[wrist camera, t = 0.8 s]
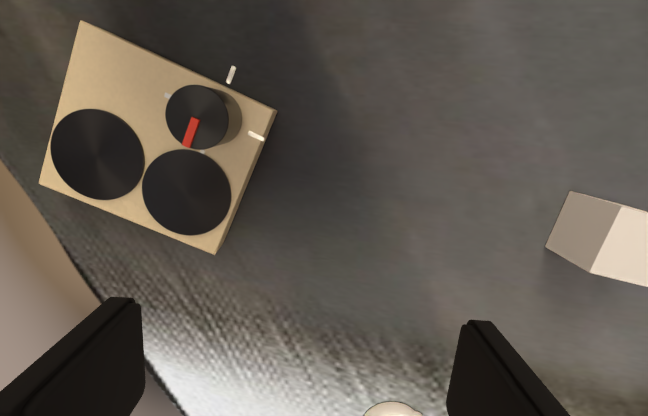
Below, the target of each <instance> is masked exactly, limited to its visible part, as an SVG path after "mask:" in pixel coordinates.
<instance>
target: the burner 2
mask: <svg viewBox="0 0 648 416" xmlns="http://www.w3.org/2000/svg"><path fill="white" fill-rule="evenodd" d="M142 195H143V200H144V203H145V206H146V208H147V210H148V211H149V213H150V215H151V216H152V217H153V218H154V219H155V220H156V221H157V222H158V223H159V224H160V225H161V226H163V227H164V228H166V229H167V230H169V231H171V232H174V233H177V234H181V235H188V236H193V235H201V234H204V233H207V232H209V231H211V230H213V229H214V228H216V227H217V226H218V225H219V224H220V223H221V222H222V221H223V220H224V219H225V217H226V216H227V214H228V212H229V209H230V206H231V199H232V193H231V187H230V183H229V180H228V178H227V176H226V174H225V172H224V171H223V169H222V168H221V167H220V166H219V165H218V163H216V162H215V161H214V160H213V159H212V158H210V157H209V156H207V155H205V154H202V153H200V152H198V151H194V150H189V149H177V150H172V151H169V152H166V153H164V154H162V155H160V156H158V157H157V158H156V159H155V160H153V161H152V163H151V164H150V165H149V166H148V168H147V170H146V172H145V174H144V177H143V181H142Z"/></svg>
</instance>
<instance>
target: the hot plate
mask: <svg viewBox="0 0 648 416" xmlns="http://www.w3.org/2000/svg"><path fill="white" fill-rule="evenodd" d="M235 70H236V67H234V66H231V69H230V72H229V75H228V77H227V80H226V83H228V84H231V81H232V78H233V76H234V73H235ZM187 85H202V86H206V87H210V88H214V89H217V90H221V91H224V92H226V93H228V94H229V95H231V96H232V97H233V98H234V99H235V100H236V102H237V103H238V105H239V107H240V109H241V113H242V126H241V129H240V131H239V133H238V134H237V136H236V137H235V138H234V139H233V140H231V141H230V142H228V143H225V144H222V145H218V146H215V147H212V148H208V149H203V150H197V149H192V148H187V147H185V146H183V145H182V144H181V143H180V142H178V141H177V140H176V139H175V138H174V137H173V135H172V134H171V132H170V130H169V129H168V126H167V123H166V117H165V111H166V106H167V103H168V100H169V99H170V97H171V96H172V94H173V93H174V92H175V91H176V90H178V89H179V88H181V87H184V86H187ZM81 109H100V110H104V111H107V112H110V113H112V114H114V115H116V116H118V117H119V118H121V119H122V120H124V121H125V122H126V123H127V124H128V125H129V126H130V127H131V128H132V129H133V130H134V132H135V133H136V134H137V136H138V138H139V140H140V142H141V144H142V147H143V151H144V156H145V166H144V172H143V175H142V178H141V180H140V181H139V183H138V185H137V186H136V187H135V188H134V189H133V190H132V191H131V192H129V193H128V194H126V195H124V196H122V197H120V198H117V199H113V200H96V199H92V198H88V197H86V196H83V195H81V194H79V193H78V192H76V191H74V190H73V189H72V188H71V187H69V186H68V185H67V184H66V183H65V182H64V181H63V179H62V178H61V177H60V175H59V174H58V172H57V171H56V169H55V167H54V164H53V161H52V157H51V151H50V142H51V137H52V134H53V131H54V129H55V127H56V126H57V124H58V123H59V122H60V121H61V120H62V119H63V118H64V117H65V116H66V115H68V114H70V113H72V112H74V111H77V110H81ZM276 114H277V110H275V109H273V108H271V107H268V106H266V105H264V104H262V103H260V102H258V101H256V100H253V99H251V98H249V97H247V96H245V95H243V94H241V93H238V92H236V91H234V90H232V89H230V88H228V87H226V86H224V85H221V84H219V83H217V82H215V81H213V80H211V79H209V78H206V77H204V76H202V75H200V74H198V73H196V72H194V71H192V70H189V69H187V68H185V67H183V66H181V65H179V64H177V63H174V62H172V61H170V60H168V59H166V58H164V57H162V56H160V55H157V54H155V53H153V52H151V51H149V50H147V49H145V48H142V47H140V46H138V45H136V44H134V43H132V42H130V41H128V40H125V39H123V38H121V37H119V36H117V35H115V34H113V33H110V32H108V31H106V30H104V29H102V28H99V27H97V26H94V25H92V24H89V23H87V22H84V21H80V23H79V27H78V31H77V35H76V39H75V43H74V47H73V51H72V55H71V59H70V62H69V66H68V70H67V74H66V78H65V82H64V86H63V90H62V94H61V98H60V101H59V105H58V109H57V113H56V117H55V121H54V125H53V129H52V133H51V136H50V140H49V144H48V148H47V152H46V156H45V160H44V164H43V168H42V172H41V175H40V179H39V184H41V185H43V186H46V187H48V188H51V189H53V190H56V191H58V192H61V193H63V194H66V195H68V196H71V197H73V198H75V199H78V200H80V201H83V202H85V203H88V204H90V205H93V206H95V207H98V208H100V209H103V210H105V211H107V212H110V213H112V214H115V215H117V216H120V217H122V218H125V219H127V220H130V221H132V222H135V223H137V224H140V225H142V226H144V227H147V228H149V229H152V230H154V231H157V232H159V233H162V234H164V235H167V236H169V237H172V238H174V239H176V240H179V241H181V242H184V243H186V244H189V245H191V246H194V247H196V248H199V249H201V250H204V251H206V252H209V253H211V254H213V255H215V254H216V252H217V251H218V250H219V248H220V247H221V246H222V244H223V243H224V240H225V238H226V236H227V233H228V231H229V228H230V226H231V223H232V221H233V219H234V216H235V214H236V211H237V209H238V206H239V204H240V201H241V199H242V197H243V194H244V192H245V189H246V187H247V184H248V182H249V180H250V177H251V175H252V172H253V170H254V167H255V165H256V162H257V160H258V158H259V155H260V153H261V150H262V148H263V145H264V143H265V140H266V138H267V136H268V133H269V131H270V128H271V126H272V123H273V121H274V119H275V116H276ZM177 149H189V150H194V151H198V152H200V153H202V154H205V155H207V156H209V157H210V158H212V159H213V160H214V161H215V162H216V163H218V165H219V166H220V167H221V168H222V169H223V171H224V172H225V174H226V176H227V178H228V180H229V183H230V187H231V193H232V199H231V206H230V209H229V212H228V214H227V216H226V217H225V219H224V220H223V221H222V222H221V223H220V224H219V225H218V226H217V227H216V228H214V229H213V230H211V231H209V232H207V233H204V234H201V235H193V236H188V235H181V234H177V233H174V232H171V231H169V230H167V229H166V228H164V227H163V226H161V225H160V224H159V223H158V222H157V221H156V220H155V219H154V218H153V217H152V216H151V215H150V213H149V211H148V210H147V208H146V206H145V203H144V200H143V195H142V181H143V177H144V174H145V172H146V170H147V168H148V166H149V165H150V164H151V163H152V161H153V160H155V159H156V158H157V157H158V156H160V155H162V154H164V153H166V152H169V151H172V150H177Z"/></svg>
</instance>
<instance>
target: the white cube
mask: <svg viewBox="0 0 648 416" xmlns="http://www.w3.org/2000/svg"><path fill="white" fill-rule="evenodd" d="M545 247H546V248H548V249H550V250H551V251H553V252H555V253H556V254H558V255H560V256H562V257H563V258H565V259H567V260H568V261H570V262H572V263H574V264H575V265H577V266H579V267H580V268H582V269H584V270H586V271H587V272H589V273H593V274H597V275H601V276H605V277H609V278H613V279H617V280H621V281H625V282H629V283H634V284H638V285H642V286H646V287H648V212H646V211H643V210H639V209H636V208H632V207H629V206H626V205H622V204H618V203H614V202H611V201H607V200H603V199H599V198H596V197H592V196H588V195H584V194H580V193H577V192H573V191H570V192H569V194H568V196H567V198H566V200H565V203H564V205H563V207H562V209H561V212H560V214H559V216H558V218H557V221H556V223H555V225H554V227H553V230H552V232H551V234H550V236H549V239H548V241H547V243H546V245H545Z"/></svg>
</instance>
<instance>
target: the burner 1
mask: <svg viewBox="0 0 648 416" xmlns="http://www.w3.org/2000/svg"><path fill="white" fill-rule="evenodd" d="M50 151H51V157H52V161H53V164H54V167H55V169H56V171H57V172H58V174H59V175H60V177H61V178H62V179H63V181H64V182H65V183H66V184H67V185H68V186H69V187H71V188H72V189H73V190H74V191H76V192H78V193H79V194H81V195H83V196H86V197H88V198H92V199H96V200H113V199H117V198H120V197H122V196H124V195H126V194H128V193H129V192H131V191H132V190H133V189H134V188H135V187H136V186H137V185H138V183H139V181H140V180H141V178H142V175H143V172H144V166H145V156H144V151H143V147H142V144H141V142H140V140H139V138H138V136H137V134H136V133H135V132H134V130H133V129H132V128H131V127H130V126H129V125H128V124H127V123H126V122H125V121H124V120H122V119H121V118H119V117H118V116H116V115H114V114H112V113H110V112H107V111H104V110H100V109H81V110H77V111H74V112H72V113H70V114H68V115H66V116H65V117H64V118H63V119H62V120H61V121H60V122H59V123H58V124H57V126H56V127H55V129H54V131H53V134H52V137H51V142H50Z"/></svg>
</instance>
